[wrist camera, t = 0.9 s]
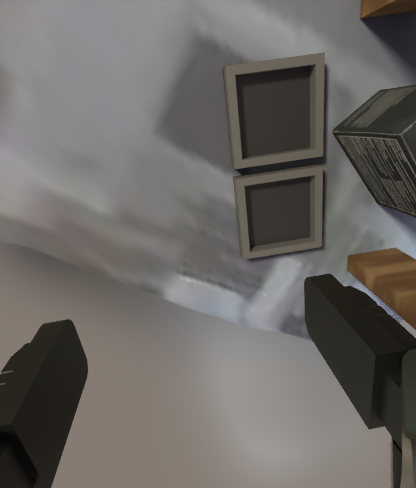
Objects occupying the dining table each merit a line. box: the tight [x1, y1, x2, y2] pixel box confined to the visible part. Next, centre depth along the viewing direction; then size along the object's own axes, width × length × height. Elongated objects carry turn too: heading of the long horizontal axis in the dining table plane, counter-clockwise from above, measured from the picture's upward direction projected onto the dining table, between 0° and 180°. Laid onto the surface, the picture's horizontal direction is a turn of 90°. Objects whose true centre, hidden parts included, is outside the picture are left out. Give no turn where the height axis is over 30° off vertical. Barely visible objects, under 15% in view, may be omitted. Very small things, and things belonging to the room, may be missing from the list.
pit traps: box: [223, 53, 325, 260], centre depth 32 cm, size 19×9×2 cm, turn 7°
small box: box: [333, 85, 416, 217], centre depth 28 cm, size 11×6×10 cm, turn 41°
